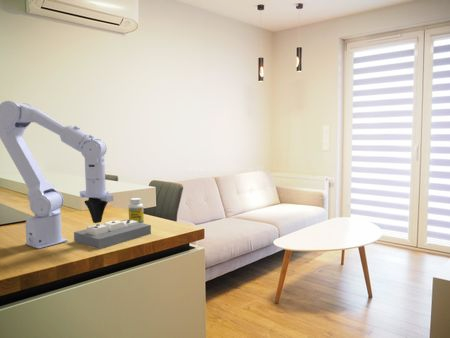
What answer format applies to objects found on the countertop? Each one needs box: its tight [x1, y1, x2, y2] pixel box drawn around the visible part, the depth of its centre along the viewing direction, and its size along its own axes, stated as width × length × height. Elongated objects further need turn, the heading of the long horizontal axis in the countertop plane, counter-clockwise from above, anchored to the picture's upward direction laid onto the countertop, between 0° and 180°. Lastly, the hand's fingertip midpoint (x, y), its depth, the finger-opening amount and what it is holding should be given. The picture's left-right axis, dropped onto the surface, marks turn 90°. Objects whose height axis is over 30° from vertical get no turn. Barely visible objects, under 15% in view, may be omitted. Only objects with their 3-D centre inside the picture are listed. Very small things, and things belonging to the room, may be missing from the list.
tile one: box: [103, 219, 124, 231], centre depth 115 cm, size 4×4×3 cm
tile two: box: [86, 223, 108, 236], centre depth 110 cm, size 4×4×3 cm
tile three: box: [121, 219, 138, 227], centre depth 120 cm, size 4×4×3 cm
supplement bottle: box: [128, 197, 145, 224], centre depth 133 cm, size 5×5×10 cm
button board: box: [73, 219, 152, 250], centre depth 116 cm, size 20×13×3 cm, turn 144°
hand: (97, 222), depth 110 cm, fingers closed
